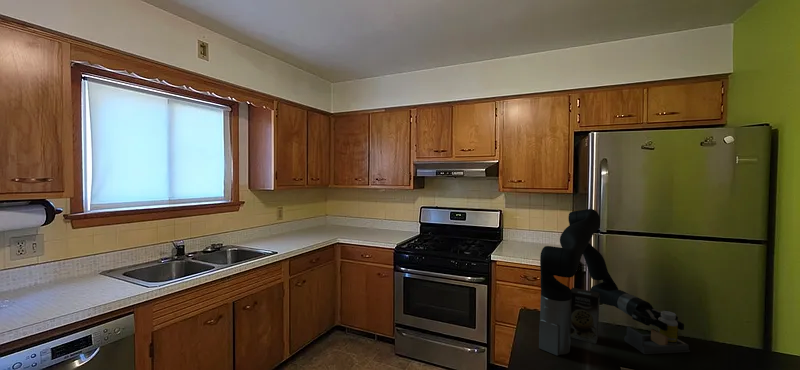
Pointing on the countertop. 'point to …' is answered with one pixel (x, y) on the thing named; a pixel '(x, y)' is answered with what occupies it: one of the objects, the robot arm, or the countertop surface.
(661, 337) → the pusher
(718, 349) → the countertop surface
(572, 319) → the coffee box
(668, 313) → the supplement bottle
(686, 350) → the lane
